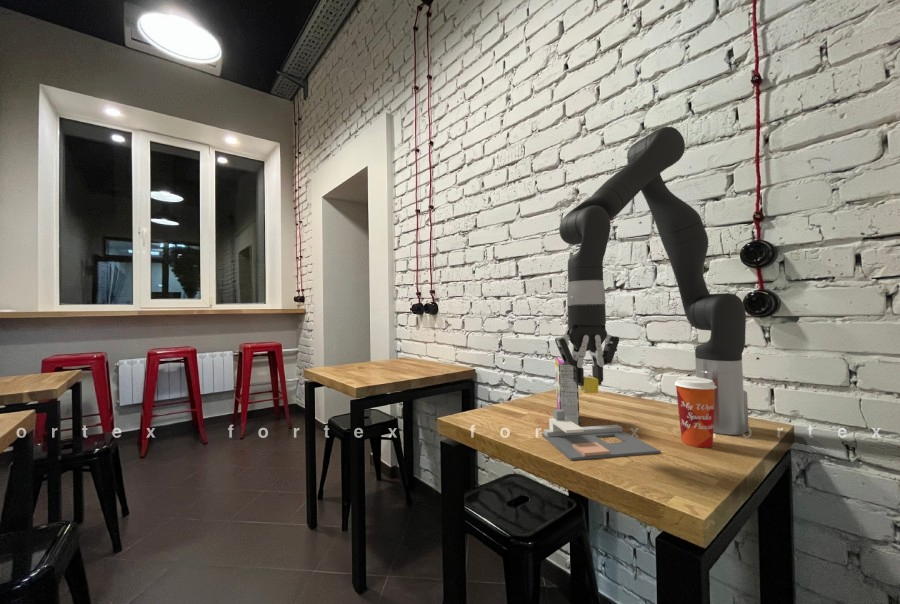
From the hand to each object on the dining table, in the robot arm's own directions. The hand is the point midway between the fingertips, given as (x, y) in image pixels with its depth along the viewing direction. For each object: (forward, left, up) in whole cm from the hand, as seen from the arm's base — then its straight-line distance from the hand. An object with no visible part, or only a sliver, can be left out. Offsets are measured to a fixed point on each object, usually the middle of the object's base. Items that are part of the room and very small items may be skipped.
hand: (588, 384), depth 75 cm
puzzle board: (-4, -4, -14) cm, 15 cm away
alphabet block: (0, 0, -2) cm, 2 cm away
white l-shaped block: (+2, -7, -13) cm, 14 cm away
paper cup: (-26, 0, -14) cm, 29 cm away
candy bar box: (-6, -21, -14) cm, 26 cm away
